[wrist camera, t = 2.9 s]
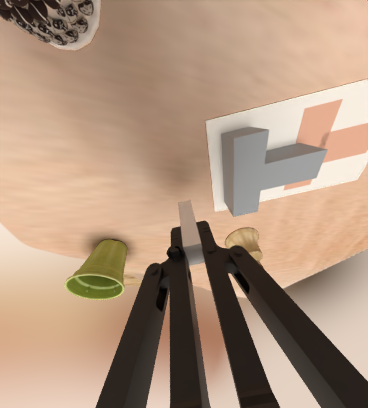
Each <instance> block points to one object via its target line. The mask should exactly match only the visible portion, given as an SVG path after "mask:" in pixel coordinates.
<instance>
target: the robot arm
mask: <svg viewBox="0 0 368 408" xmlns="http://www.w3.org/2000/svg"><path fill="white" fill-rule="evenodd" d="M178 206H179V215H180V224H181V226H180V227H176V228H172V231H171V247H169V249H168V250H167V255H168V257H169V258H168V260H166V261H165V262H163V263H161V264H159V263H153V264H151V265H150V266H149V267H148V268H147V270H146V272H145V275H144V278H143V280H142V283H141V286H140V289H139V291H138V294H137V297H136V300H135V302H134V305H133V307H132V310H131V313H130V316H129V318H128V321H127V324H126V326H125V329H124V332H123V335H122V337H121V340H120V343H119V346H118V348H117V351H116V354H115V356H114V359H113V362H112V365H111V367H110V370H109V373H108V375H107V378H106V381H105V383H104V386H103V389H102V391H101V394H100V397H99V400H98V402H97V405H96V408H146V404H147V399H148V394H149V389H150V384H151V380H152V374H153V369H154V365H155V359H156V355H157V349H158V344H159V339H160V335H161V330H162V325H163V320H164V315H165V310H166V305H167V300H168V295H169V290H170V408H211V407H210V403H209V398H208V391H207V384H206V377H205V370H204V364H203V356H202V349H201V342H200V335H199V328H198V321H197V314H196V308H195V300H194V293H193V286H192V279H191V272H190V269H189V266H190V265H195V264H200V263H204V262H205V264H206V269H207V273H208V277H209V281H210V285H211V289H212V293H213V297H214V301H215V305H216V310H217V313H218V318H219V322H220V326H221V330H222V334H223V338H224V343H225V347H226V351H227V354H228V359H229V363H230V367H231V371H232V375H233V379H234V383H235V388H236V391H237V396H238V400H239V404H240V408H280V406H279V404H278V402H277V400H276V398H275V396H274V394H273V392H272V390H271V388H270V385H269V382H268V380H267V377H266V374H265V372H264V369H263V366H262V364H261V361H260V358H259V356H258V353H257V350H256V348H255V345H254V343H253V340H252V337H251V334H250V332H249V329H248V327H247V324H246V321H245V318H244V315H243V313H242V310H241V307H240V305H239V302H238V300H237V297H236V294H235V291H234V289H233V286H232V283H231V281H230V278H229V275H228V273H231V274H232V276H233V277H234V279H235V280H236V282H237V283H238V285H239V286H240V288H241V289H242V291H243V292H244V293H245V295H246V296H247V298H248V299H249V301H250V302H251V304H252V305H253V307H254V308H255V310H256V311H257V313H258V314H259V316H260V317H261V319H262V320H263V322H264V323H265V324H266V326H267V328H268V329H269V331H270V332H271V334H272V335H273V337H274V338H275V340H276V341H277V343H278V344H279V346H280V347H281V349H282V350H283V352H284V353H285V354H286V356H287V357H288V359H289V360H290V362H291V363H292V365H293V366H294V368H295V369H296V371H297V372H298V374H299V375H300V377H301V378H302V380H303V381H304V383H305V384H306V385H307V387H308V389H309V390H310V391H311V393H312V394H313V396H314V398H315V399H316V401H317V402H318V404H319V405H320V406H321V408H368V381H367V380H366V379H365V378H364V377H363V376H362V375H361V374H360V373H359V372H358V371H357V369H356V368H355V367H354V366H353V365H352V364H351V363H350V362H349V361H348V360H347V359H346V357H345V356H344V355H343V354H342V353H341V352H340V351H339V350H338V349H337V348H336V347H335V346H334V344H332V342H331V341H330V340H329V339H328V338H327V337H326V336H325V335H324V334H323V333H322V331H321V330H320V329H319V328H318V327H317V326H316V325H315V324H314V323H313V322H312V321H311V320H310V318H309V317H308V316H307V315H306V314H305V313H304V312H303V311H302V310H301V309H300V308H299V307H298V306H297V304H296V303H294V301H293V300H292V299H291V298H290V297H289V296H288V295H287V294H286V293H285V291H284V290H283V289H282V288H281V287H280V286H279V285H278V284H277V283H276V282H275V281H274V279H273V278H272V277H271V276H270V275H269V274H268V273H267V272H266V271H265V270H264V269H263V268H262V266H261V265H260V264H259V263H258V262H257V261H256V260H255V259H254V258H253V257H252V256H251V255H250V253H249V252H248V251H247V250H246V249H245V248H244V247H242V246H239V245H234V246H232V247H230V249H228V248H221V247H219V246H218V245H217V244H216V243H215V240H214V238H213V235H212V232H211V230H210V227H209V224H208V223H207V222H206V221H201V222H196V221H195V217H194V213H193V209H192V205H191V201H190V200H188V201H184V202H180V203H178Z"/></svg>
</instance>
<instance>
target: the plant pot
mask: <svg viewBox="0 0 368 408" xmlns="http://www.w3.org/2000/svg"><path fill="white" fill-rule="evenodd" d="M126 254H127V247H126V246H125V244H123V243H122V242H120V241H113V240H111V239H108V240H104V241H102V242H100V243H99V244H98V246H97V247H96V248H95V250H94V251H93V252H92V254H91V255H90V256H89V257H88V259H87V260H86V261H85V263H84V264H83V265H82V266H81V268H80V269H79V270H77V271H76V272H75V273H74V275H73V276H71V277H69V278H68V279H67V280H66V282H65V284H64V286H65V289H67V291H68V292H70V293H71V294H73V295H76V296H78V297H81V298H85V299H94V300H106V299H112V298H116V297H118V296H120V295H121V294H122V293H123V292H124V284H123V281H124V279H123V273H124V266H125V260H126Z"/></svg>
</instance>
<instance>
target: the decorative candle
mask: <svg viewBox="0 0 368 408" xmlns="http://www.w3.org/2000/svg"><path fill="white" fill-rule="evenodd" d="M100 11H101V0H0V17H2V18H3V19H5V20H6V21H10V22H13V23H14V24H15V25H16V26H17V27H19V28H20V29H21V30H23V31H25V32H27V33H29V34H32V35H34V36H35V37H36V38H38V39H39V40H41V41H43V42H46V43H49V44H51V45H53V46H55V47H56V48H58V49H64V50H75V51H77V50H79V49H81V48H83V47H84V46H86V45H88V44H90V43H91V41H92V39H93V37H94V35H95V33H96V31H97V29H98V27H99V24H100Z"/></svg>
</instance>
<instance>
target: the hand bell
mask: <svg viewBox="0 0 368 408" xmlns="http://www.w3.org/2000/svg"><path fill="white" fill-rule="evenodd" d="M258 238H259V235H258V232H257V231H256V230H255V229H253V228H242V229H238V230H236V231H234V232H233V233H231V234H230V235H229V236H228V237H227V239H226V241H225V245H226V247H227V248H228V249H230V247H232V246H234V245H239V246H242V247H244V248H245V249H246V250H247V251H248V252H249V253H250V255H251V256H252V257H253V258H254V259H255V260H256V261H257V262H258V263H259V264H260V265H261V263H260V262H259V261H260V260H261V259H262V252H261V250H260V248H259V246H258ZM261 266H262V265H261ZM262 268H263V266H262ZM263 269H264V268H263Z"/></svg>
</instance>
